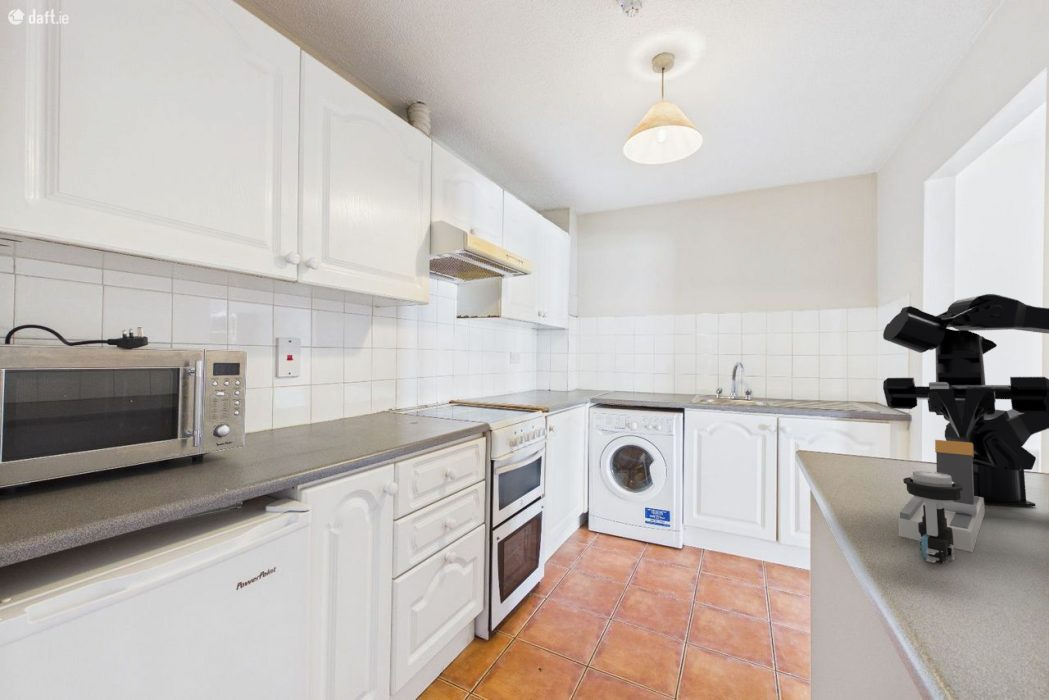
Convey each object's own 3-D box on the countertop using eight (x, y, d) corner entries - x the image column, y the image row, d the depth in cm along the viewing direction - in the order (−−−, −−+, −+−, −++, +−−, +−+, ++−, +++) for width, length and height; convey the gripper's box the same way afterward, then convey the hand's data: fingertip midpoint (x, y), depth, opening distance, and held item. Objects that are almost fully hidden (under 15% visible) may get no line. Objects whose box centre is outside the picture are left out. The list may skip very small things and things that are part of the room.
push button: (961, 574, 48) (955, 484, 49) (900, 558, 52) (894, 476, 53) (971, 557, 52) (965, 474, 53) (913, 543, 56) (908, 467, 57)
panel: (923, 503, 72) (922, 483, 72) (984, 513, 66) (983, 492, 66) (899, 536, 59) (897, 511, 59) (972, 552, 54) (970, 525, 54)
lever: (936, 509, 62) (935, 441, 64) (976, 516, 59) (974, 445, 61) (934, 508, 61) (934, 439, 63) (975, 515, 58) (973, 442, 60)
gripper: (1043, 392, 70) (1058, 475, 62) (893, 390, 83) (890, 458, 75) (1045, 345, 64) (1061, 429, 57) (884, 351, 78) (880, 420, 70)
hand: (962, 436), depth 65 cm, fingers closed
